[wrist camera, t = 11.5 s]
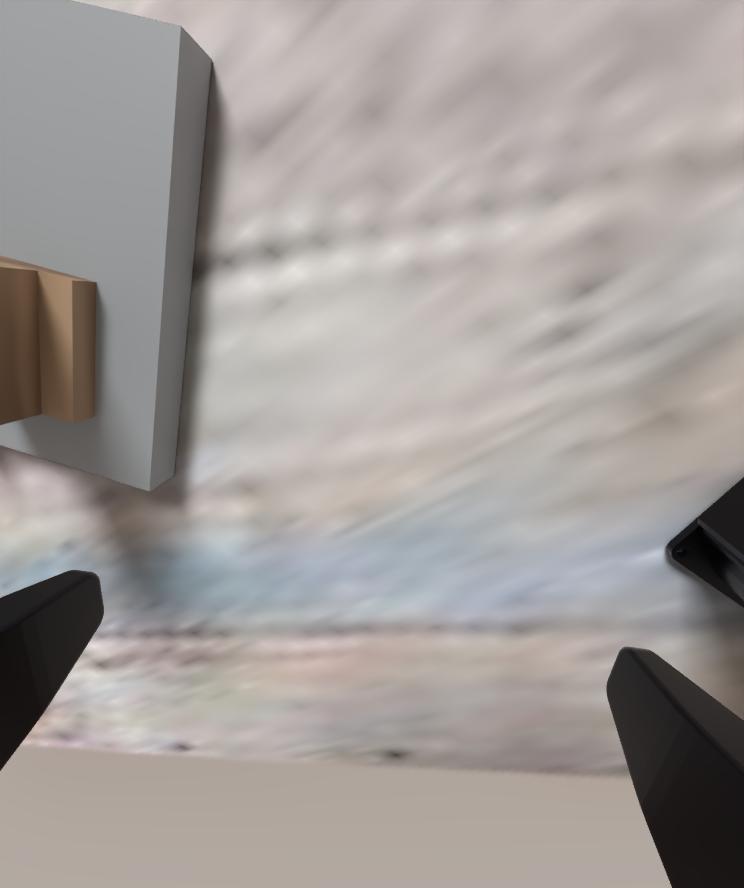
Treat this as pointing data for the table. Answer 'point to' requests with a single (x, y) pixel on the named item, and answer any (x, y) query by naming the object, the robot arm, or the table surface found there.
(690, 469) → the table surface
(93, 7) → the display ledge
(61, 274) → the brown tall block
